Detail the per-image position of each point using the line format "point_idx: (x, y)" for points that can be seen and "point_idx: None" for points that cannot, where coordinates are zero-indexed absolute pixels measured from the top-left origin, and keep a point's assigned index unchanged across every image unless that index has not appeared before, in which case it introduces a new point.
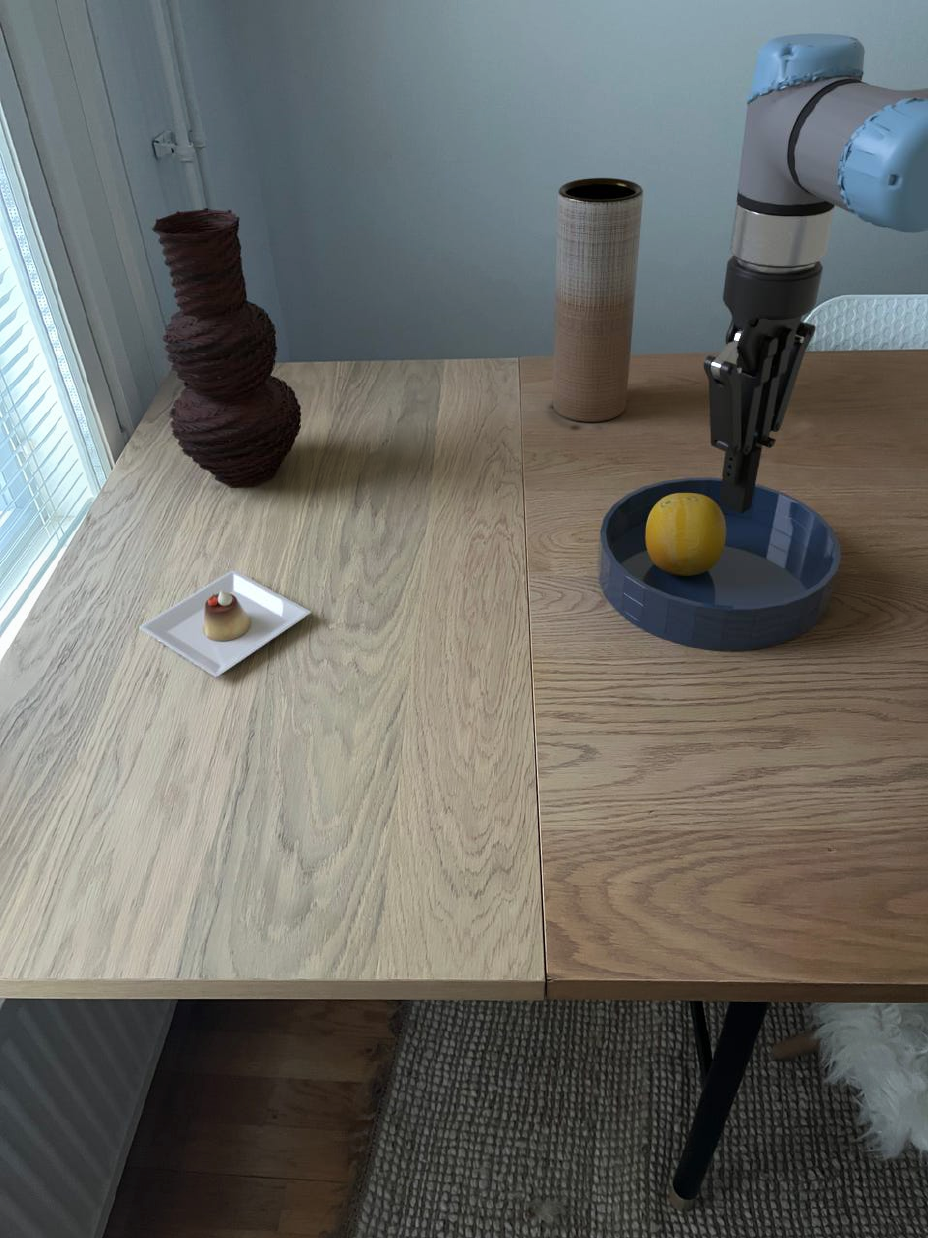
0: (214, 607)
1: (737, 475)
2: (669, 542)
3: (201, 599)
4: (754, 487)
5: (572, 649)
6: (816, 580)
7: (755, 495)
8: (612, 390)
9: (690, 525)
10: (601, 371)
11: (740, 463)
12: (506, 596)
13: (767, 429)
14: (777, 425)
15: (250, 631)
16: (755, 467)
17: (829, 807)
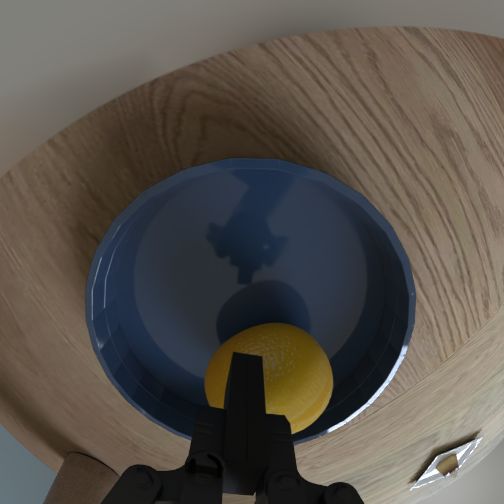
0: (456, 470)
1: (281, 429)
2: (332, 387)
3: (432, 478)
4: (230, 381)
5: (426, 349)
6: (183, 199)
7: (105, 343)
8: (85, 477)
9: (316, 391)
10: (90, 497)
11: (279, 452)
12: (379, 420)
13: (196, 498)
14: (148, 484)
15: (448, 455)
16: (239, 422)
17: (477, 87)
